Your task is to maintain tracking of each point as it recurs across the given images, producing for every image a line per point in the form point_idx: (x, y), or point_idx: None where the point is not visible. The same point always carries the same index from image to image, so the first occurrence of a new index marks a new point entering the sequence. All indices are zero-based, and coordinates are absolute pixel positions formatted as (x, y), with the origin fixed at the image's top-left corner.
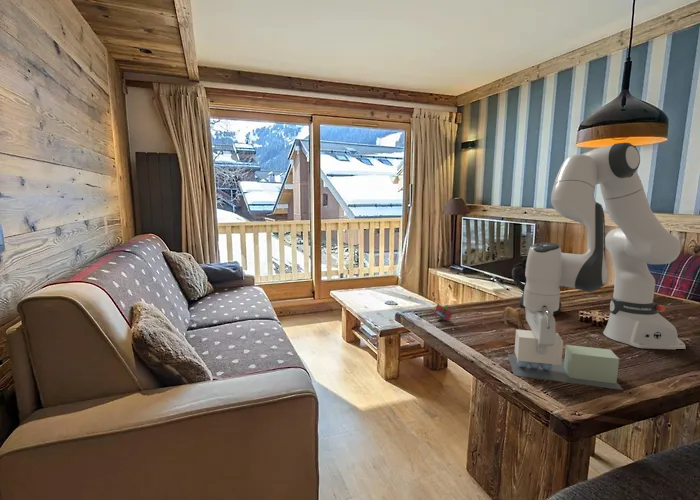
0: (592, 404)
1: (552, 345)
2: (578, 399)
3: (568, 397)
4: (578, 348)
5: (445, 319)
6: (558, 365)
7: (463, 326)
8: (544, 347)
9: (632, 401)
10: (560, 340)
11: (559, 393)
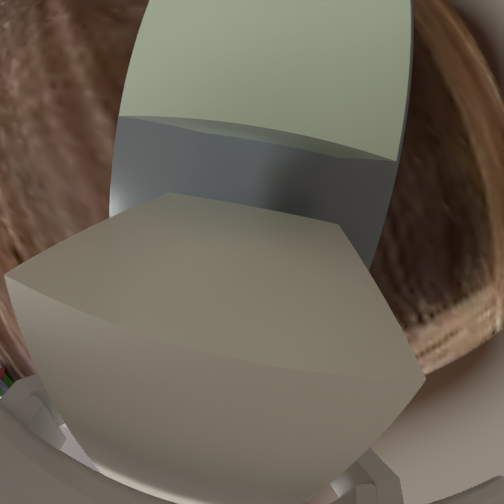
0: (498, 180)
1: (502, 480)
2: (475, 213)
3: (462, 246)
4: (215, 10)
5: (3, 372)
6: (181, 154)
7: (4, 349)
8: (365, 453)
9: (455, 15)
10: (387, 411)
11: (436, 267)
